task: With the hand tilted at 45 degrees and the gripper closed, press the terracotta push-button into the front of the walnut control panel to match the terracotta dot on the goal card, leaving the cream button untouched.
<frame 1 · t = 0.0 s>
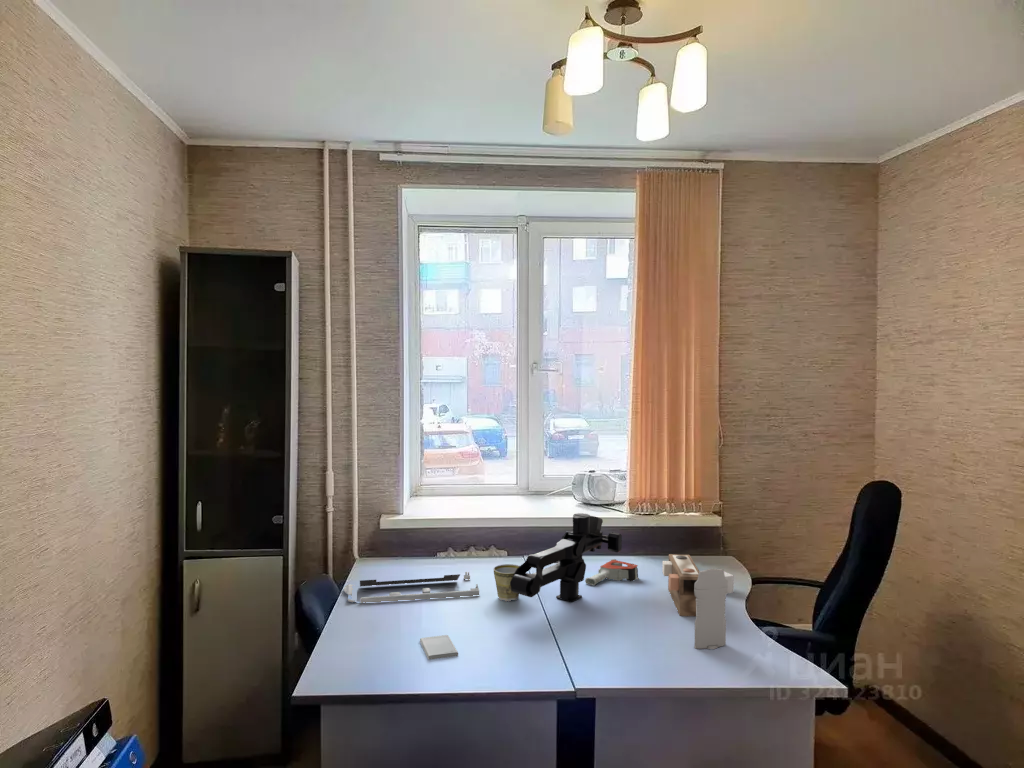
hand: (609, 534, 248), 17 cm above the table, tool horizontal, fingers open, 9 cm apart
hard drive: (438, 651, 190), on the table
terracotta button: (675, 582, 219), point 9 cm above the table, slide at 0.0 cm
paper cutter: (411, 593, 235), on the table
ceramic cup: (512, 599, 228), on the table
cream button: (669, 568, 233), point 9 cm above the table, slide at 0.0 cm
control panel: (679, 602, 226), on the table
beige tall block: (710, 646, 192), on the table
tape dispenser: (611, 579, 250), on the table
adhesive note: (720, 591, 238), on the table
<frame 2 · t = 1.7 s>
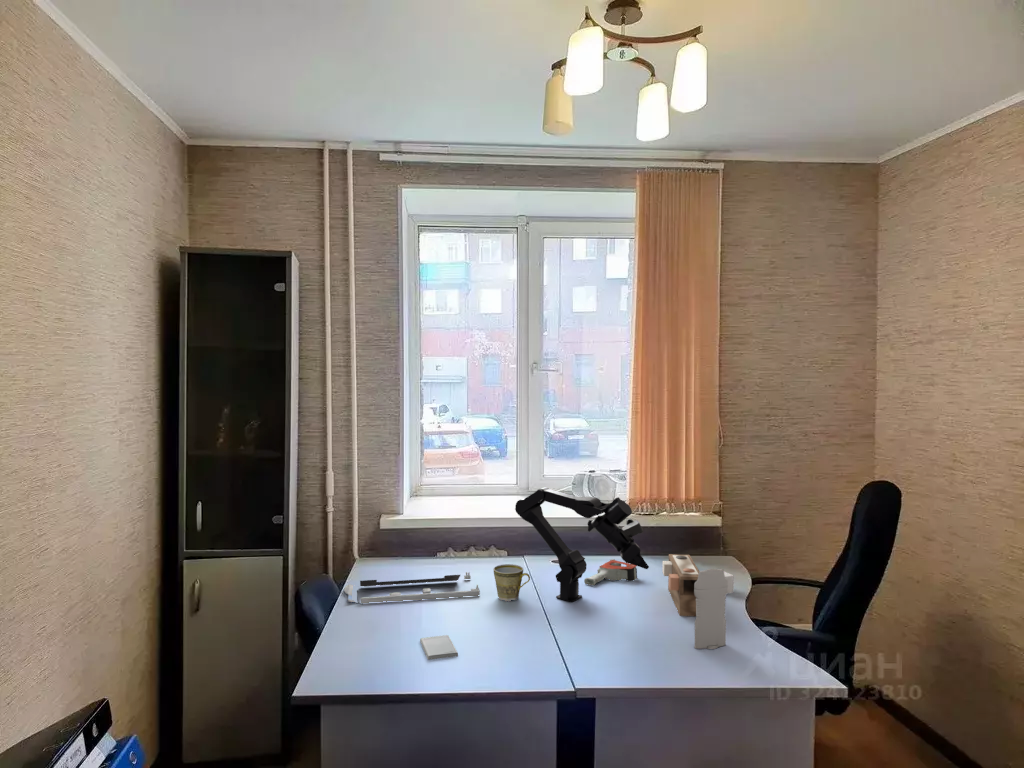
hand: (645, 564, 221), 14 cm above the table, tool tilted 45°, fingers open, 9 cm apart
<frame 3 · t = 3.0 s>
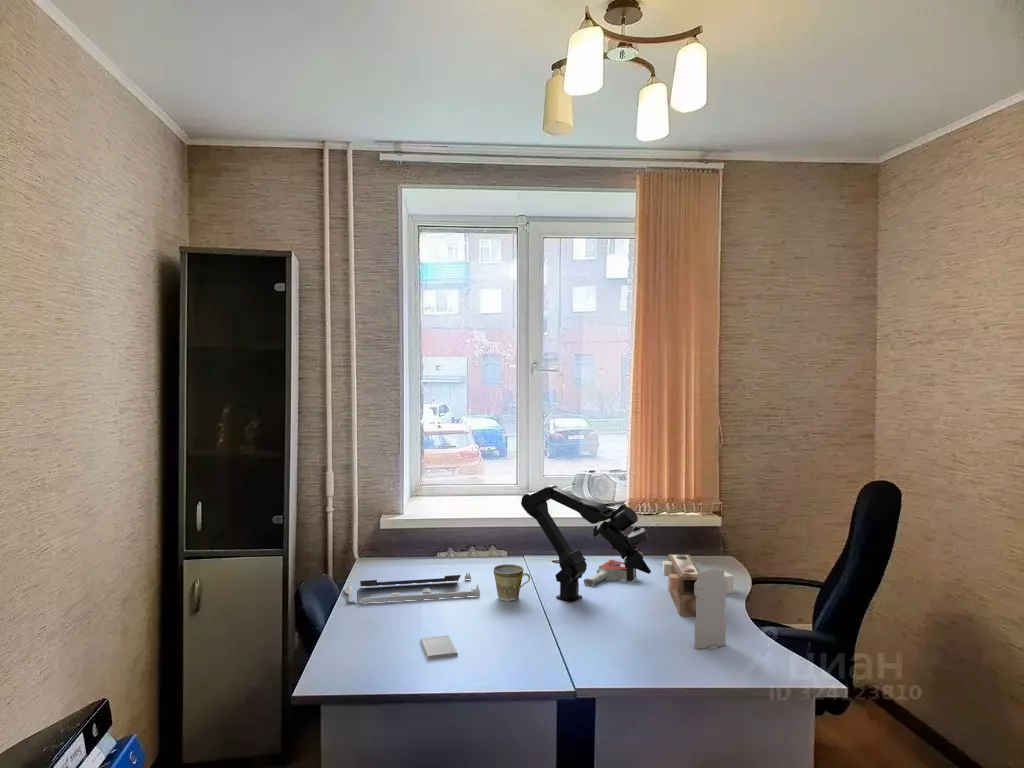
hand: (650, 572, 219), 12 cm above the table, tool tilted 45°, fingers closed
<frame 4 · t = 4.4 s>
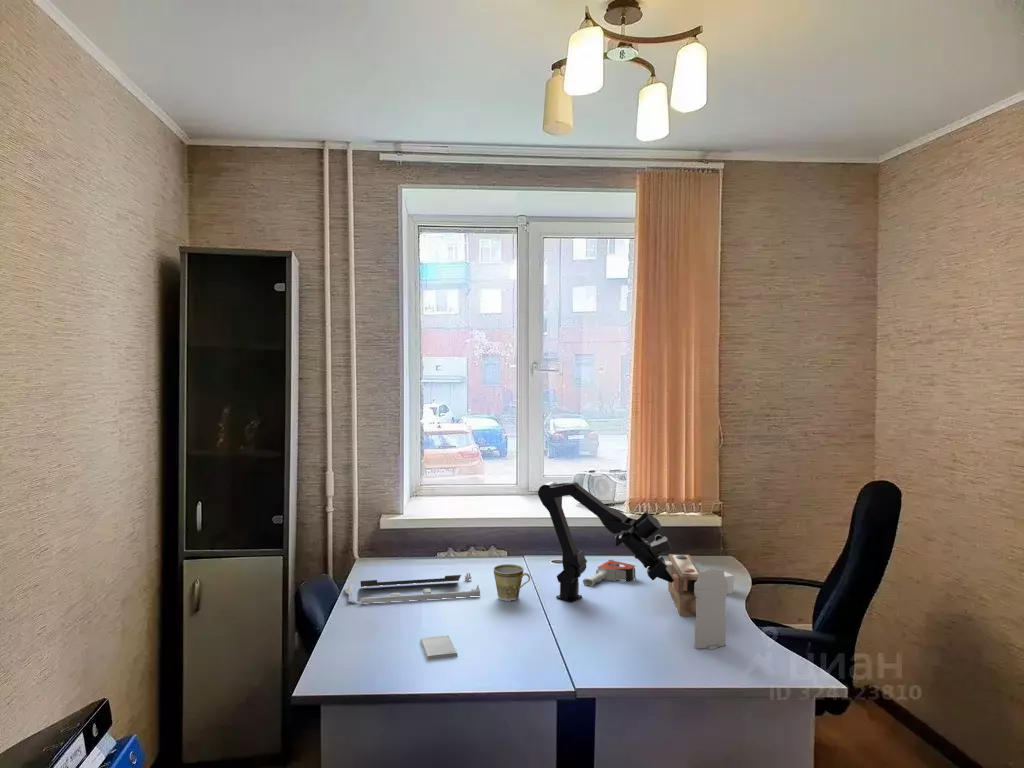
hand: (672, 581, 219), 9 cm above the table, tool tilted 45°, fingers closed, pressing on terracotta button
terracotta button: (679, 582, 219), point 9 cm above the table, slide at 1.2 cm, touching gripper
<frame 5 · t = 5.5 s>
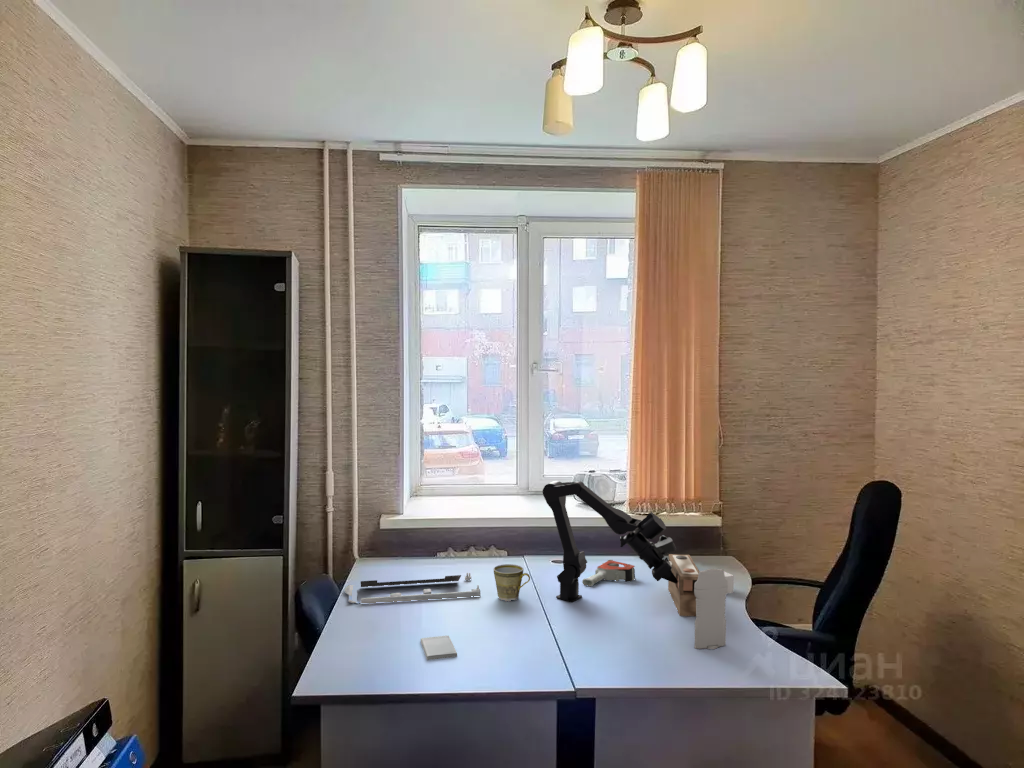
hand: (677, 582, 219), 9 cm above the table, tool tilted 45°, fingers closed
terracotta button: (685, 582, 219), point 9 cm above the table, slide at 2.9 cm
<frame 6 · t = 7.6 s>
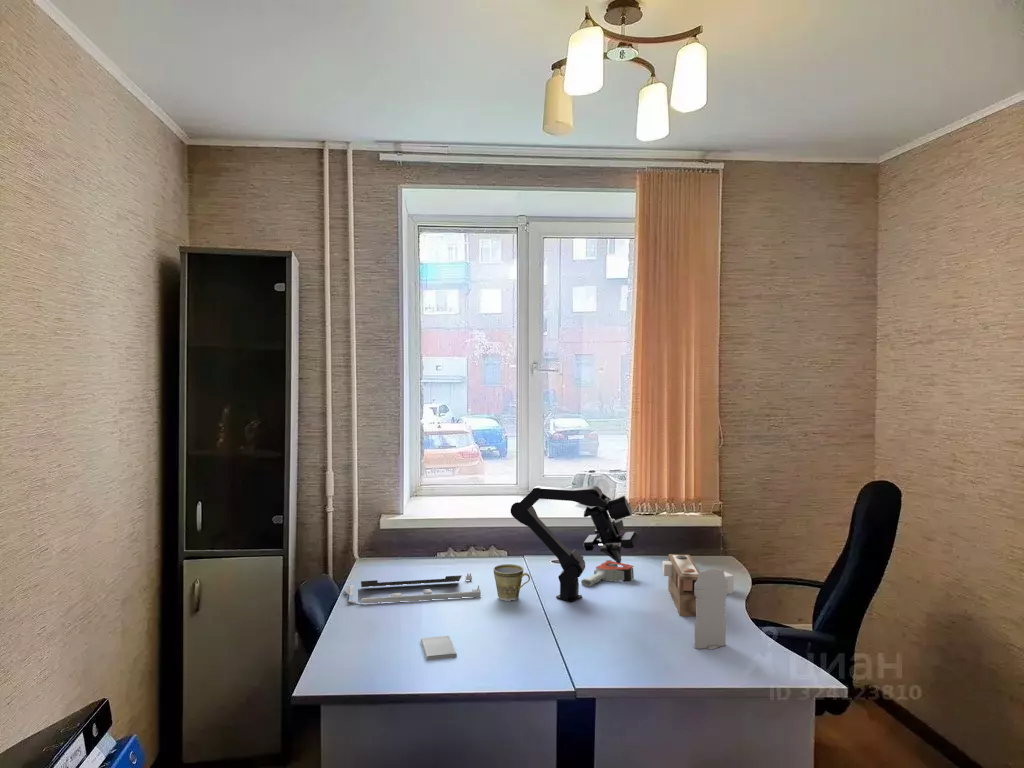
hand: (619, 562, 230), 12 cm above the table, tool tilted 25°, fingers closed
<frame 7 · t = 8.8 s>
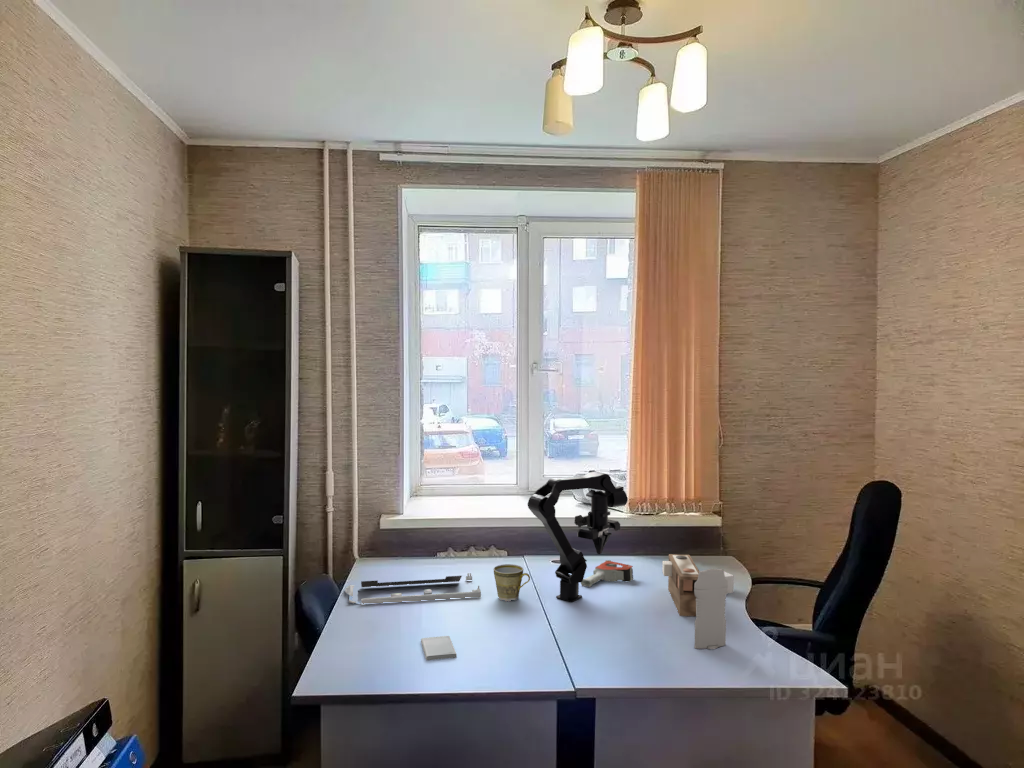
hand: (599, 553, 236), 13 cm above the table, tool pointing down, fingers closed
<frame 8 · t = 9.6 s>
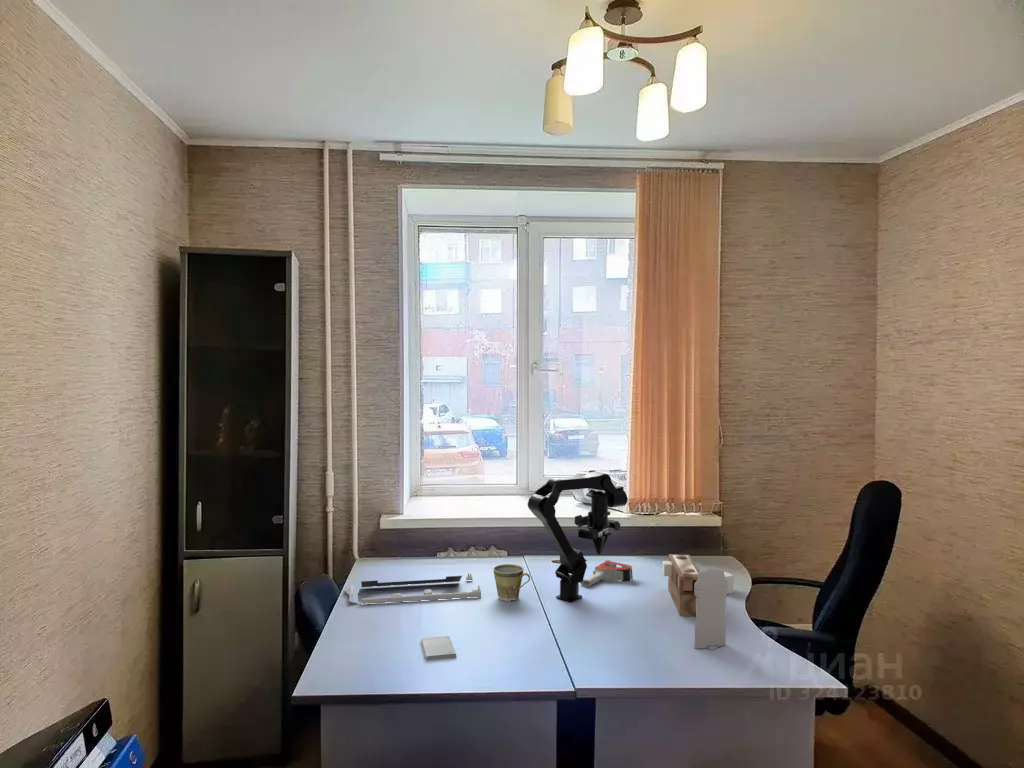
hand: (599, 553, 236), 13 cm above the table, tool pointing down, fingers closed
at the end: terracotta button slide at 2.9 cm; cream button slide at 0.0 cm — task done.
